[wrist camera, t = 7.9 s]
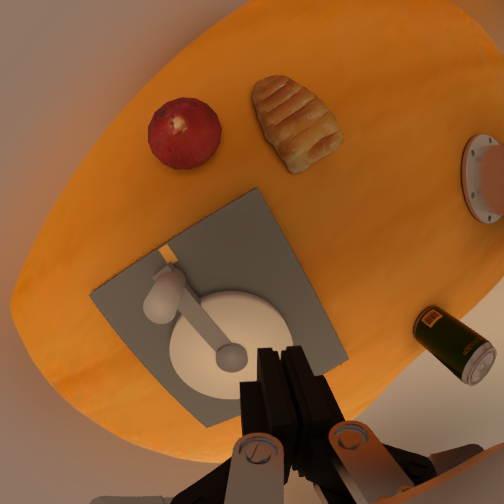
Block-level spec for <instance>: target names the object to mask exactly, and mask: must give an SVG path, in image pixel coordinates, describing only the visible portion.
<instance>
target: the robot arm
mask: <svg viewBox="0 0 504 504" xmlns="http://www.w3.org/2000/svg"><path fill="white" fill-rule="evenodd" d="M462 184H463V191H464V195H465V199H466V202H467V205H468V207H469V209H470V211H471V213H472V214H473V216H474V217H475V218H476V219H477V220H479V221H480V222H483V223H487V224H492V223H495V222H496V221H498V220H499V219H500V217H501V216H504V145H499V143H498V142H497V141H496V140H495V139H494V138H493V137H491V136H490V135H487V134H479V135H476V136H474V137H472V138H471V140H470V141H469V142H468V144H467V146H466V149H465V152H464V156H463V162H462ZM239 385H240V409H241V424H242V437H241V438H239V440H238V441H237V442H236V443H235V445H234V448H233V453H232V457H230V458H229V459H228V460H226V461H225V462H224V463H222V464H221V465H220V466H218V467H217V468H216V469H215V470H213V471H212V472H210V473H209V474H207V475H206V476H204V477H203V478H202V479H200V480H199V481H197V482H196V483H194V484H193V485H191V486H190V487H188V488H187V489H185V490H184V491H182V492H180V493H179V494H178V495H176V496H175V497H167V498H163V497H162V496H144V497H118V496H116V497H115V496H101V497H97V498H95V499H93V500H92V501H91V503H90V504H284V502H283V501H284V485H285V484H286V483H287V482H288V477H289V473H290V468H291V466H292V469H293V471H295V470H298V473H299V477H304V476H305V477H306V479H307V480H309V481H311V482H313V486H314V489H315V491H316V493H317V495H318V497H319V499H320V501H321V503H322V504H504V443H501V444H498V445H495V446H493V447H491V448H489V449H486V450H484V449H483V448H482V447H481V446H479V445H477V444H468V445H465V446H461V447H458V448H454V449H450V450H447V451H443V452H438V453H434V454H430V456H429V457H425V456H422V455H419V454H416V453H412V452H408V451H405V450H402V449H398V448H395V447H392V446H389V445H385V444H383V443H381V442H380V441H379V439H378V438H377V437H376V436H375V434H374V433H373V432H372V430H371V429H370V428H369V427H368V426H367V425H365V424H363V423H361V422H358V421H345V419H344V417H343V415H342V413H341V410H340V408H339V406H338V404H337V402H336V400H335V398H334V395H333V393H332V391H331V389H330V387H329V385H328V383H327V381H326V379H325V377H324V376H323V375H319V376H314V374H313V372H312V369H311V367H310V365H309V362H308V360H307V358H306V355H305V353H304V351H303V348H302V346H301V345H298V346H287V347H286V350H282V351H281V358H280V357H279V354H278V351H273V349H272V347H269V348H257V381H246V382H239Z"/></svg>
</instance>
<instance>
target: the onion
mask: <svg viewBox="0 0 504 504" xmlns="http://www.w3.org/2000/svg"><path fill="white" fill-rule="evenodd" d="M221 130H222V128H221V125H220V122H219V119H218V116H217V114H216V113H215V112H214V111H213V110H212V109H211V108H210V107H209V106H208V104H206V103H204V102H202V101H200V100H198V99H196V98H178V99H175V100H172V101H169V102H167V103H165V104H164V105H163V106H162V107H161V108H160V109H158V110H157V111H156V112H155V113H154V115H153V118H152V120H151V122H150V124H149V126H148V142H149V145H150V148H151V150H152V153H153V154H154V155H155V156H156V157H157V158H158V159H159V160H160V161H161V162H162V163H163V164H165V165H167V166H170V167H172V168H174V169H191V168H193V167H196V166H198V165H201V164H203V163H204V162H205V161H206V160H207V159H208V158H210V157H211V156H212V155H213V154H214V152H215V150H216V149H217V147H218V145H219V143H220V138H221Z"/></svg>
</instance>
